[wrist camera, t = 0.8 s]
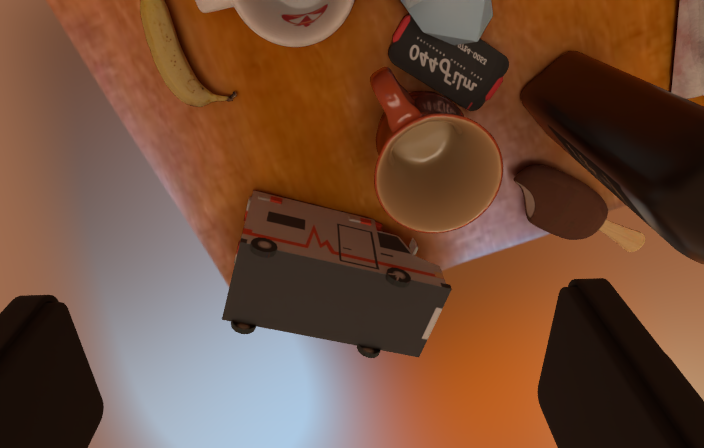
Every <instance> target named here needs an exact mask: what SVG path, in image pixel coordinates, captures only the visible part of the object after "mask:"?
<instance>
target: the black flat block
mask: <svg viewBox="0 0 704 448" xmlns="http://www.w3.org/2000/svg"><path fill="white" fill-rule="evenodd" d="M388 55H389V58H390V60H391V62H392V63H393V64H394V65H396V66H398V67H399V68H401V69H402V70H404V71H406V72H407V73H409V74H410V75H412V76H414V77H415V78H417V79H418V80H420V81H422V82H423V83H425V84H426V85H428V86H430V87H431V88H433V89H434V90H436V91H438V92H439V93H441V94H442V95H444V96H446V97H447V98H449V99H450V100H452V101H454V102H455V103H457V104H458V105H460V106H462V107H463V108H465V109H467V110H469V111H474V110H477V109H479V108H480V107H481V106H482V105H483V104H484V102H485V101H487V100H489V99H490V98H491V97H492V96H493V94H494V93H495V92H496V90H497V89H498V87H499V86H500V85H501V83H502V82H503V76H504V74H505V73H506V72H507V70H508V67H509V61H508V59H507V57H506V56H505V55H503V54H502V53H500V52H499V51H497V50H496V49H494V48H493V47H491V46H490V45H488V44H487V43H485V42H484V41H482V40H481V39H479V40H478V42H472V43H465V44H458V45H452V44H450V43H447V42H445V41H443V40H440V39H438V38H436V37H433V36H431V35H429V34H426V33H424V32H423V31H422V30H421V29H420V27H419V26H418V24H417V23H416V22H415V20H414V19H413V17H412V16H411V15H410V14H408V15H406V16H404V18H403V19H402V21H401V23H400V24H399V26H398V28H397V29H396V31H395V33H394V34H393V42H392V44H391V45H390V47H389V51H388Z"/></svg>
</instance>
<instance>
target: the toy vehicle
mask: <svg viewBox="0 0 704 448" xmlns="http://www.w3.org/2000/svg"><path fill="white" fill-rule="evenodd" d="M244 221H245V225H244V229H243V233H242V236H241V240H240V241H239V244H238V248H237V252H236V256H235V261H234V263H235V266H234V270H233V274H232V279H231V283H230V287H229V292H228V296H227V300H226V305H225V309H224V313H223V317H222V320H227V321H231V326H232V328H233V329H234V330H235V331H236V332H238V333H241V334H249V333H252V332H253V331H254V330H255V328H256V326H258V327H264V328H269V329H274V330H280V331H284V332H290V333H296V334H301V335H305V336H310V337H316V338H321V339H327V340H331V341H337V342H342V343H347V344H353V345H357V349H358V351H359V352H360V353H361V354H362V355H363V356H366V357H368V358H375V357H377V356H378V355H379V353H380V350H383V351H389V352H394V353H399V354H405V355H409V356H415V357H419V356H420V354H421V352H422V350H423V348H424V345H425V343H426V341H427V339H428V337H429V335H430V333H431V331H432V329H433V327H434V325H435V323H436V321H437V319H438V316H439V314H440V312H441V310H442V308H443V306H444V304H445V302H446V300H447V297H448V296H449V293H450V291H451V286H450V285H448V284H446V283H445V280H444V277H443V274H442V272H441V269H440V266H437V265H435V264H433V263H430V262H428V261H426V260H423V259H421V258H418V257H416V256H415V255H414V254H416V252H417V250H418V245H417V243H416V241H415V240H414V239H413V238H412V240H411V242H410V245H409V247H410V249H409V248H408V247H407V246H406V244H405V243H404V242H403V241H402V240H401V238H400V237H399V236H397V235H393V234H389V233H385V232H381V229H382V224H381V223H377V222H375V220H373V219H369V218H365V217H361V216H357V215H353V214H348V213H344V212H340V211H336V210H332V209H328V208H324V207H320V206H316V205H311V204H307V203H303V202H299V201H295V200H291V199H287V198H283V197H279V196H275V195H270V194H266V193H262V192H258V191H253V194H252V197H249V200H248V205H247V209H246V213H245V217H244Z"/></svg>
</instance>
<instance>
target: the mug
mask: <svg viewBox="0 0 704 448" xmlns="http://www.w3.org/2000/svg"><path fill="white" fill-rule="evenodd" d="M370 83H371V87H372V89H373V91H374V93H375V95H376V97H377V99H378V101H379V102H380V104H381V106H382V107H383V109H384V113H383V115H382V117H381V119H380V122H379V125H378V129H377V134H376V147H377V152H378V155H379V157H378V160H377V163H376V167H375V175H374V184H375V190H376V194H377V197H378V200H379V202H380V204H381V206H382V207H383V209H384V210H385V211H386V213H387V214H388V215H389V216H390V217H391V218H392V219H393V220H394V221H396V222H397V223H399V224H400V225H402V226H404V227H406V228H408V229H411V230H414V231H418V232H423V233H443V232H449V231H452V230H456V229H458V228H461V227H463V226H465V225H467V224H469V223H471V222H472V221H474V220H475V219H477V218H478V217H479V216H480V215H481V214H482V213H484V212H485V211H486V209H487V208H488V207H489V206H490V205H491V203H492V202H493V200H494V199H495V197H496V195H497V193H498V191H499V188H500V185H501V181H502V176H503V161H502V156H501V152H500V149H499V147H498V145H497V143H496V141H495V140H494V138H493V137H492V135H491V134H490V133H489V132H488V131H487V130H486V129H485V128H484V127H482V126H481V125H480V124H478V123H477V122H475V121H473V120H471V119H468V118H466V117H464V115H463V113H462V112H461V110H460V109H459V108H458V107H457V106H456V105H455V104H454V103H453V102H452V101H450V100H449V99H447V98H445V97H443V96H440V95H438V94H437V93H435V92H428V91H415V92H410V93H408V92H407V91H406V90H405V89H404V88H403V87H402V86H401V85H400V84H399V82H398V81H397V80H396V78H395V76H394V75H393V73H392V71H391V70H390V69H389V68H388V67H382V68H380V69H379V70H377V71H376V72H374V73H373V74H372V75H371V77H370Z"/></svg>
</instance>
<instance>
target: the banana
mask: <svg viewBox="0 0 704 448" xmlns="http://www.w3.org/2000/svg"><path fill="white" fill-rule="evenodd" d="M140 13H141V19H142V23H143V28H144V32H145V36H146V40H147V43H148V46H149V48H150V51H151V54H152V57H153V60H154V62H155V64H156V67H157V69H158V71H159V73H160V74H161V76H162V78H163V80H164V82H165V83H166V85H167V86H168V88H169V89H170V90H171V91H172V93H173V94H174V95H175V96H176V97H177V98H178V99H180V100H181V101H182V102H184V103H186V104H188V105H190V106H195V107H203V106H205V105H207V104H209V103H211V102H215V101H233V98H234V97H235V96H237V95H236V92H235V91H234V92H233V94H232V95H231V96H230V97H228V96H221V95H215V94H213V93H211V92H210V91H209V90H208V89H206V88H205V87H204V86H203V85H202V84H201V83H200V82H199V81H198V79H197V78H196V76H195V74H194V72H193V71H192V69H191V67H190V65H189V63H188V61H187V59H186V57H185V55H184V53H183V50H182V48H181V46H180V43H179V40H178V37H177V34H176V31H175V28H174V25H173V22H172V19H171V16H170V13H169V10H168V7H167V5H166V3H165V1H164V0H141V3H140Z"/></svg>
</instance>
